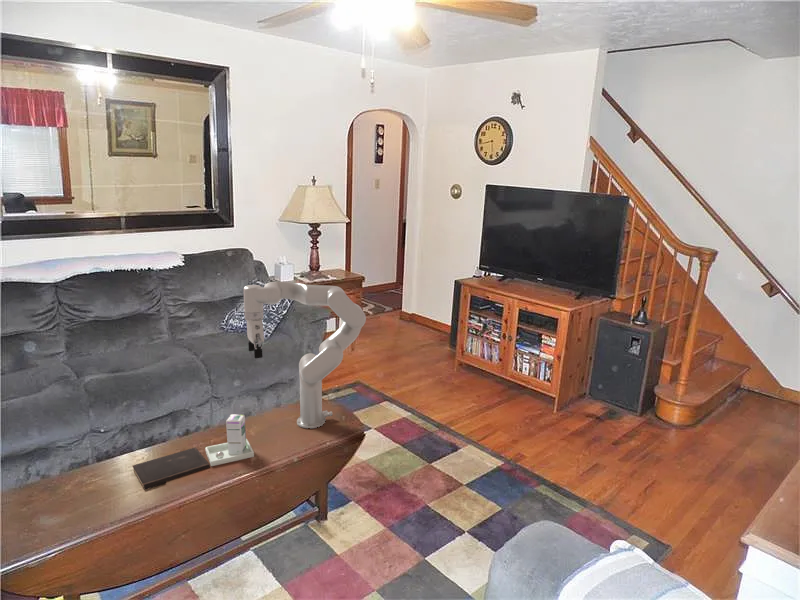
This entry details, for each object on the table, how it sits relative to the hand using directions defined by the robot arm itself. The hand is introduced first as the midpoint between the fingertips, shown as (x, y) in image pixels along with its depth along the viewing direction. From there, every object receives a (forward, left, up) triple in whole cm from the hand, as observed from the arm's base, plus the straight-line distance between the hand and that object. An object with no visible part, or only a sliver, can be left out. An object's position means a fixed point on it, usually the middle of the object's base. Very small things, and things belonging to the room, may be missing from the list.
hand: (255, 354), depth 226 cm
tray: (+16, +19, -33) cm, 42 cm away
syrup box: (+13, +18, -33) cm, 40 cm away
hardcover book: (+37, +20, -34) cm, 54 cm away
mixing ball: (+20, +21, -33) cm, 44 cm away
